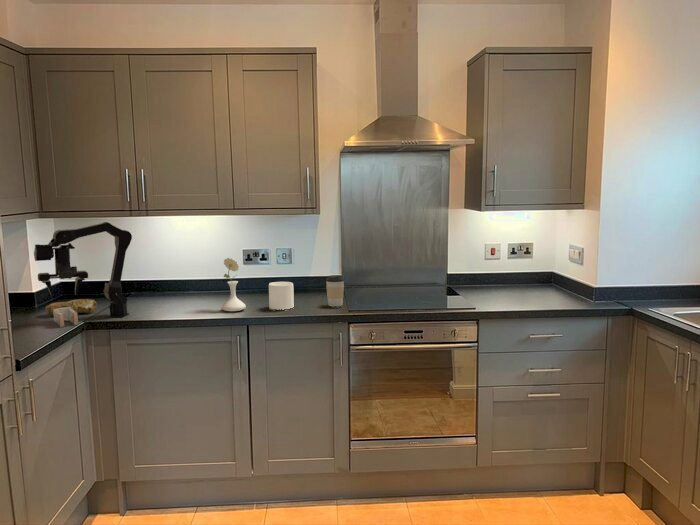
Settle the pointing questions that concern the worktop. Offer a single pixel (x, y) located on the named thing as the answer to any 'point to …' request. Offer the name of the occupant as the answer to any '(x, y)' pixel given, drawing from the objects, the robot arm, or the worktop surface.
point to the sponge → (74, 306)
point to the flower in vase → (232, 289)
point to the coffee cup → (335, 290)
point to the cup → (281, 295)
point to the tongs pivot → (63, 312)
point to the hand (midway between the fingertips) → (64, 295)
